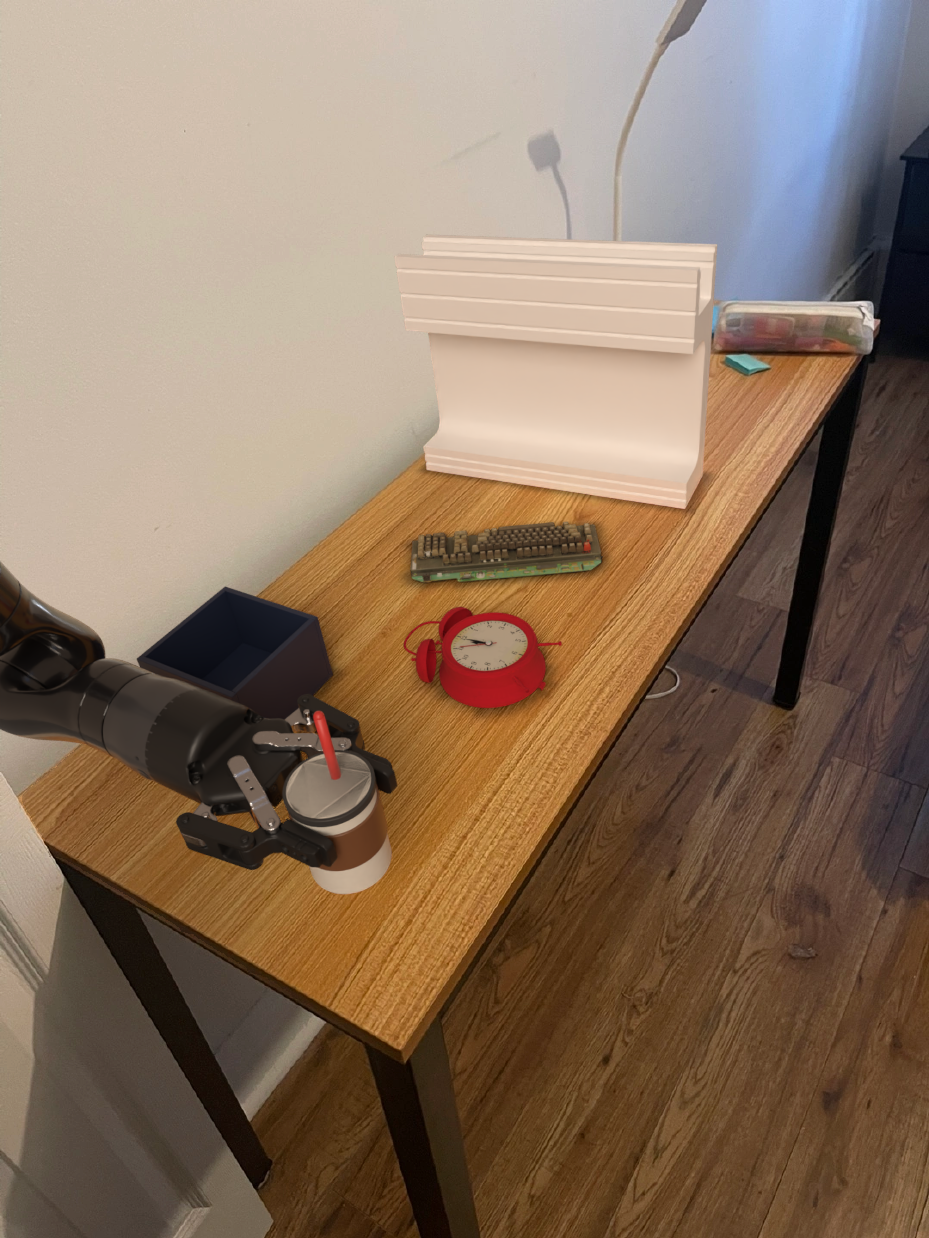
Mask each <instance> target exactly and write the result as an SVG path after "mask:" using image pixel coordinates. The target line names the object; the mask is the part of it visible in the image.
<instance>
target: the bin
mask: <svg viewBox="0 0 929 1238" xmlns="http://www.w3.org/2000/svg"><path fill="white" fill-rule="evenodd" d="M326 646H327V645H326V643H325V639H324V635H323V631H322V628H321V624H320V620H319V617H318V616H317V615H314V614H311V613H308V612H304V611H302V610H299V609H296V608H292V607H289V606H286V605H283V604H280V603H277V602H274V601H272V600H268V599H265V598H262V597H259V596H255V595H253V594H249V593H247V592H243V591H240V590H238V589H235V588H232V587H228V586H223V587H222V588H221V589H220V590H219V591H217V592H216V593H215V594H214V595H212V596H211V597H210V598H209V599H207V600H206V601H205V602H204V603H203V604H202V605H200V606H199V607H198V608H197V609H195V610H194V611H193V612H192V613H190V614H189V615H188V616H187V617H186V618H184V619H183V620H181V622H180V623H178V624H177V625H175V626H174V628H172V629H170V631H168V632H167V633H166V634H165V635H163V636H162V637H161V638H160V639H159V640H157V641H156V642H155V643H154V644H152V645H151V646H150V647H149V648H147V649H146V650H145V651H143V653H141V654H140V655H139V656H138V657H137V658H136V661H137V664H138V667H141V668H143V669H145V670H148V671H150V672H153V673H155V674H158V675H161V676H164V677H169V678H174V679H178V680H181V681H184V682H187V683H190V684H192V685H195V686H197V687H199V688H202V689H204V690H207V691H210V692H212V693H214V694H217V695H219V696H222V697H224V698H227V699H229V700H232V701H234V702H237V703H239V704H242V705H244V706H246V707H248V708H250V709H252V710H253V711H254V712H256V713H257V714H259V715H260V716H262V717H263V718H267V719H277V718H279V719H284V720H285V719H286V718H287V717H288V716H290V715H291V714H292V713H293V712H294V711H296V710H297V709H298V708H299V706H298V702H297V700H298V698H299V697H300V696H302V695H304V694H310V695H312V696H314V695H315V694H316V693H317V692H318V691H319V690H320V689H321V688H322V687H323V686H324V685H325V684H326V683H327V682H328V681H329V680H330V679H331V678H332V677H333V676H334V673H333V668H332V666H331V662H330V661H331V660H330V658H329V654H328V650H327V647H326Z"/></svg>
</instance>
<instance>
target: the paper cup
mask: <svg viewBox="0 0 929 1238" xmlns="http://www.w3.org/2000/svg"><path fill="white" fill-rule="evenodd" d="M313 719H314V722H315V726H316V729H317V732H318V734H317V735H318V736H319V739H320V742H321V746H322V749H323V752H321V753H318V754H315V755H313V756H311V757H309V758H308V757H307V758H305V759H303V760H304V761H302V762H301V763H299V764H298V765H297V766H296V767H295V768H294V769H293V770H292V771H291V772H290V774H289V775H288V777H287V778H286V781H285V783H284V786H283V792H282V796H283V800H282V801H283V804H284V807H285V810H286V812H287V814H288V819H289V820H291V821H293V822H295V823H298V824H300V825H302V826H304V827H306V828H308V829H310V830H313V831H315V832H317V833H319V834H321V835H323V836H325V837H327V838H329V839H330V840H331V841H332V842H333V844H334V847H335V850H336V853H337V856H338V859H337V860H336V861H335V862H334V863H333V865H332V866H331V867H327V866H325V865H323V864H322V865H321V866H320V867H319V868H316V867H310V866H308V868H309V871H310V874H311V876H312V878H313V880H314V881H315V883H316V885H318V886H319V887H320V888H322V889H323V890H325V891H327V892H330V893H332V894H336V895H337V894H338V895H350V894H351V895H352V894H356V893H360V892H363V891H365V890H367V889H370V888H371V887H372V886H374V885H375V884H377V883H378V882H379V881H380V880H381V879H382V878H383V877H384V876H385V874H386V873H387V871H388V869H389V867H390V865H391V861H392V858H393V855H392V854H393V851H392V845H391V842H390V838H389V834H388V821H387V818H386V814H385V813H386V812H385V809H384V806H383V802H382V798H381V794H380V793H381V792H380V790H379V789H378V786H377V784H376V777H375V773H374V770H373V768H372V766H371V764H370V763H369V762H368V761H367V760H366V759H365V758H364V757H362V756H361V755H359V754H357V753H354V752H351V751H346V750H334V747H333V744H332V740H331V737H330V733H329V730H328V726H327V723H326V719H325V716H324V713H323V712H322V711H316V712H315V713H314V714H313Z"/></svg>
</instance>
